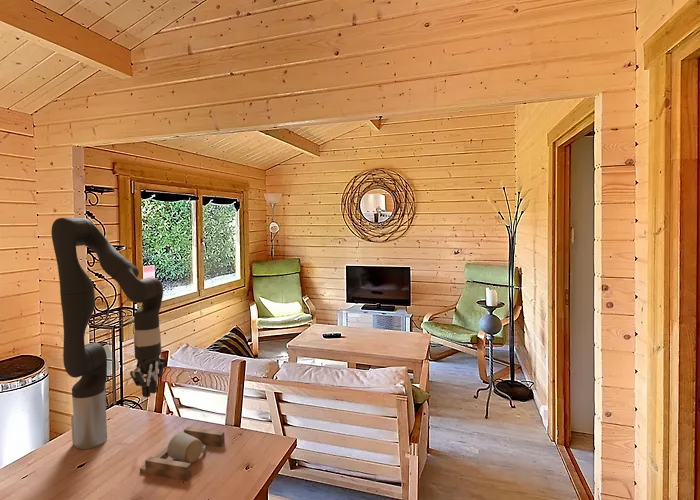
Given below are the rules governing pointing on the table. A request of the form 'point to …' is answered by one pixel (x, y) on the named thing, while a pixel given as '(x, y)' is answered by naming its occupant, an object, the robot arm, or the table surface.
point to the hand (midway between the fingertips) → (149, 394)
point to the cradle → (177, 468)
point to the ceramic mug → (185, 447)
